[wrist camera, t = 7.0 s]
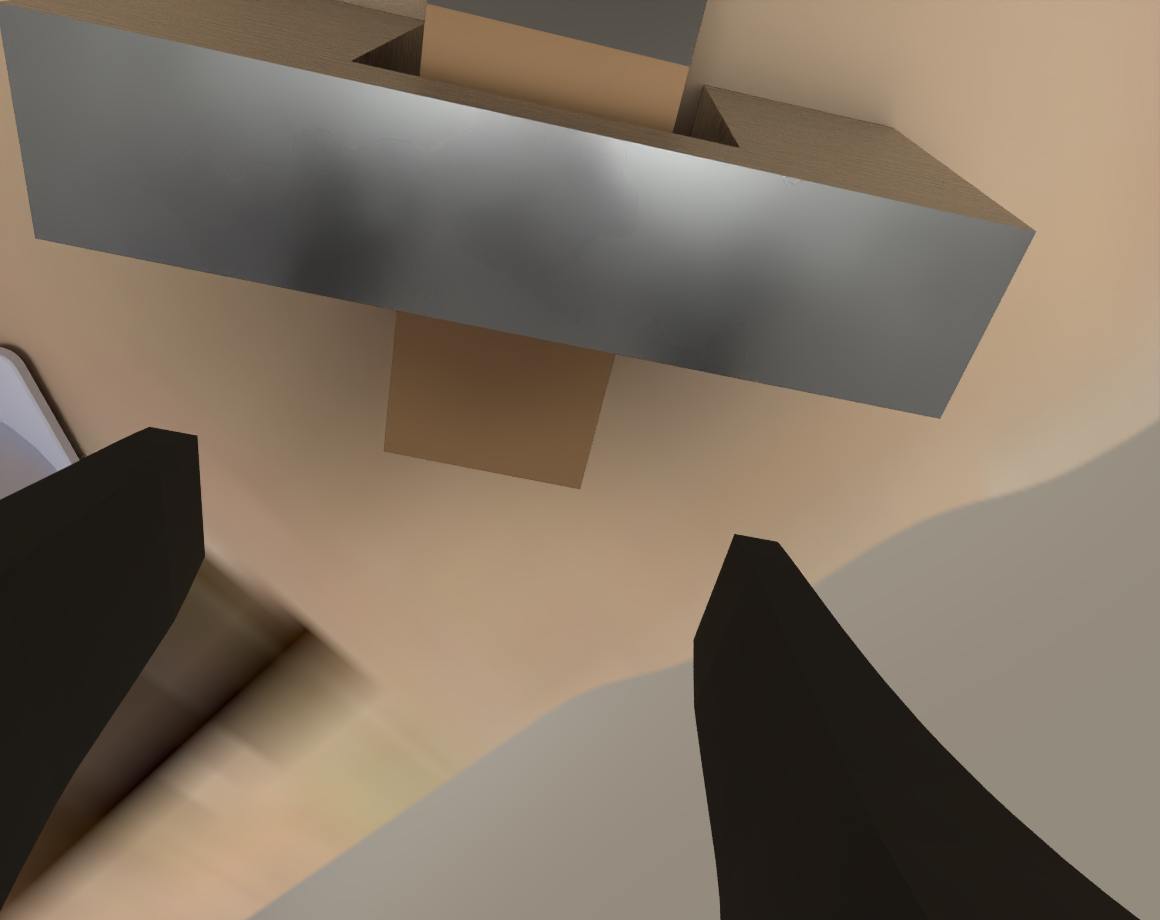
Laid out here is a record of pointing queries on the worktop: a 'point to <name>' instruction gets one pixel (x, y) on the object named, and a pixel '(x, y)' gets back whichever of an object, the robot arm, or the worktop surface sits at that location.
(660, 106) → the bar
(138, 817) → the worktop surface
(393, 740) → the worktop surface
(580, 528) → the worktop surface
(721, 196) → the u-shaped slotted block
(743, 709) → the robot arm
